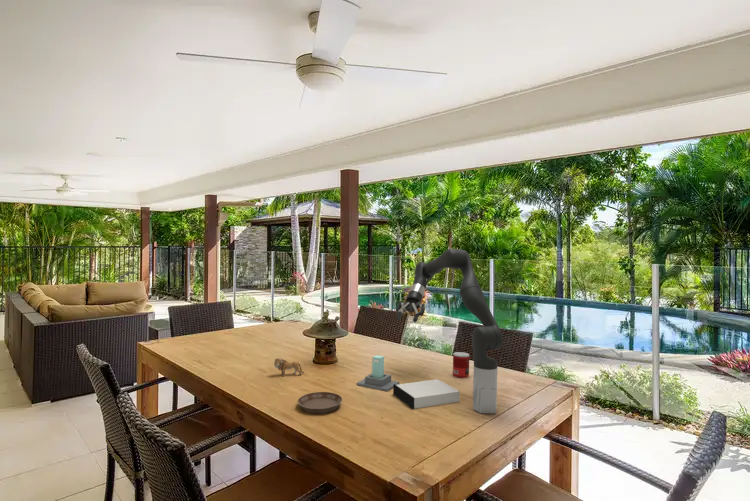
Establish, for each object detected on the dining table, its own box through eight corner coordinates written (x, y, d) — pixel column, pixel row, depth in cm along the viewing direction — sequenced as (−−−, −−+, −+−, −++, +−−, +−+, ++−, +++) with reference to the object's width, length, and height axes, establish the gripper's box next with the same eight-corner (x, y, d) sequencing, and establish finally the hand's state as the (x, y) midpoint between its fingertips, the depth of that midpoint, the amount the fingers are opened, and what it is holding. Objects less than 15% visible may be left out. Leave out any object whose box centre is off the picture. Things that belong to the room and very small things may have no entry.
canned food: (469, 378, 208) (469, 356, 208) (452, 377, 210) (453, 355, 210) (468, 374, 216) (469, 352, 215) (452, 372, 217) (453, 351, 217)
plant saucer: (300, 418, 158) (300, 409, 158) (295, 400, 175) (295, 393, 175) (346, 413, 163) (346, 405, 163) (337, 397, 180) (337, 390, 180)
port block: (399, 383, 198) (399, 375, 198) (387, 391, 188) (387, 382, 188) (369, 378, 206) (369, 369, 206) (356, 385, 195) (356, 376, 195)
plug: (383, 381, 198) (384, 356, 198) (379, 384, 194) (380, 358, 194) (376, 380, 200) (376, 355, 200) (371, 382, 196) (372, 357, 196)
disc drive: (392, 395, 184) (393, 384, 184) (437, 389, 193) (437, 378, 193) (412, 410, 168) (412, 398, 168) (459, 402, 177) (459, 391, 177)
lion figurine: (274, 378, 203) (275, 359, 203) (273, 375, 208) (273, 356, 208) (305, 375, 208) (305, 357, 208) (302, 372, 213) (303, 354, 213)
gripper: (401, 288, 216) (390, 314, 206) (427, 290, 209) (417, 317, 200) (405, 298, 221) (395, 323, 211) (430, 300, 214) (421, 326, 204)
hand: (406, 320), depth 205 cm, fingers open, 8 cm apart
